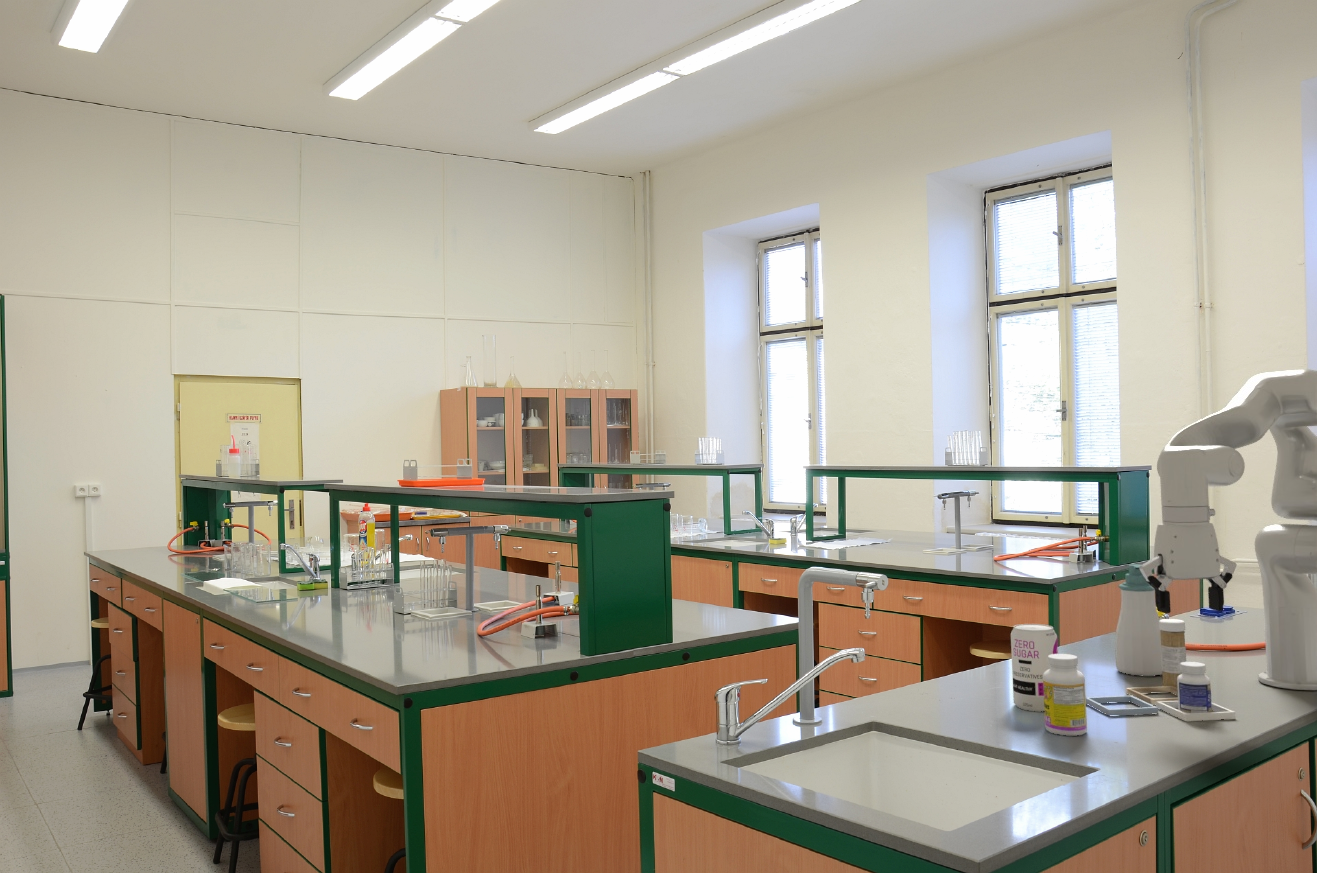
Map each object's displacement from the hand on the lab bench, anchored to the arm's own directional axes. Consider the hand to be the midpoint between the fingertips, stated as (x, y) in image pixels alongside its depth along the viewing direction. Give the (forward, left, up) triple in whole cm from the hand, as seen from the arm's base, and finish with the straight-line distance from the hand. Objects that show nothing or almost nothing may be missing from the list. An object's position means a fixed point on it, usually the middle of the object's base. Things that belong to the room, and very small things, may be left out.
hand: (1190, 611), depth 173 cm
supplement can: (+25, -9, -19) cm, 32 cm away
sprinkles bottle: (-7, -18, -18) cm, 27 cm away
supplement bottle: (+27, +7, -19) cm, 34 cm away
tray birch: (0, -11, -18) cm, 21 cm away
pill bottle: (0, 0, -19) cm, 19 cm away
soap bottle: (-8, -32, -18) cm, 38 cm away
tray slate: (+11, -5, -18) cm, 22 cm away
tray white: (0, 0, -18) cm, 18 cm away
